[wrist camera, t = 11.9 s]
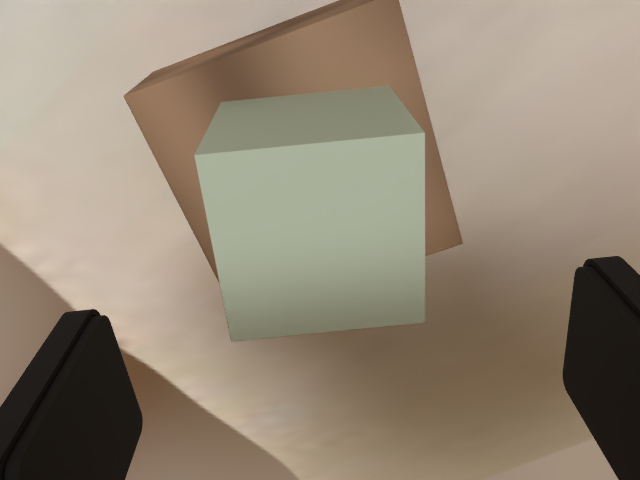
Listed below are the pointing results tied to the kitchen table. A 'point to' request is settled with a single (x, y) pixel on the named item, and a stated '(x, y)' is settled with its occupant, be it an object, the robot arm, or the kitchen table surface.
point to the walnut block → (282, 80)
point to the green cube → (316, 212)
